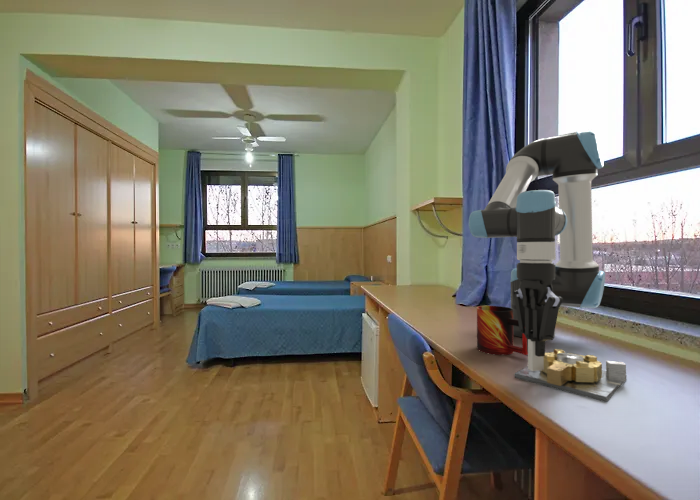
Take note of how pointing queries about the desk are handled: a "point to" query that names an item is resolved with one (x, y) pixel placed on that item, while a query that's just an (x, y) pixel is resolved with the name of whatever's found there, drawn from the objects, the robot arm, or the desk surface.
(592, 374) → the octagonal block ring
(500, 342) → the mug
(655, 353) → the desk surface
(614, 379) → the grey base plate
